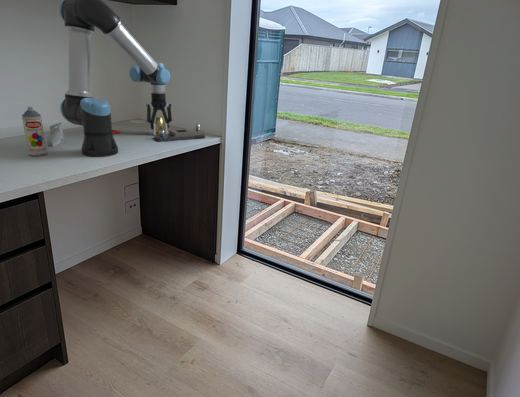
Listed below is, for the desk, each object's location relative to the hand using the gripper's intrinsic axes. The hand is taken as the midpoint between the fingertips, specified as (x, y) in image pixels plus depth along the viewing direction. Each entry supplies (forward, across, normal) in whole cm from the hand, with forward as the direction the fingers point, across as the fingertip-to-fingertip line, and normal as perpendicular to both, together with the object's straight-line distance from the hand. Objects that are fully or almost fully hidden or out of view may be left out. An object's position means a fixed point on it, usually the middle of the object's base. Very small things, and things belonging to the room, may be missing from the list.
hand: (160, 134), depth 206 cm
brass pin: (0, 0, 0) cm, 0 cm away
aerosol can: (0, +62, +22) cm, 66 cm away
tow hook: (+1, +23, -14) cm, 27 cm away
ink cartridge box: (0, +53, +5) cm, 53 cm away
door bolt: (0, -8, +12) cm, 14 cm away
